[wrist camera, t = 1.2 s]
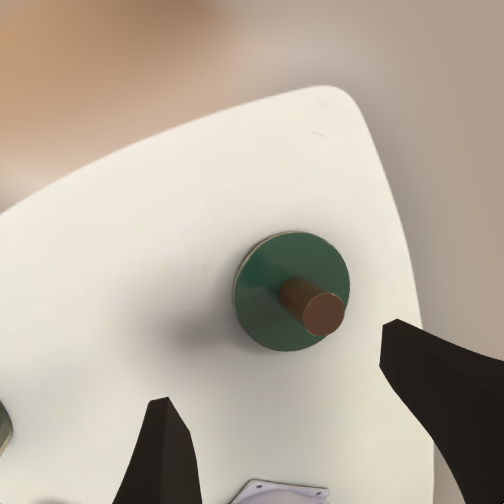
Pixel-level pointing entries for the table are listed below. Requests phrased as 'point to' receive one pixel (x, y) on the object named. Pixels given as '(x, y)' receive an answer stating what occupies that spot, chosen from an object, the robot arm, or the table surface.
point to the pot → (4, 429)
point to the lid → (291, 291)
